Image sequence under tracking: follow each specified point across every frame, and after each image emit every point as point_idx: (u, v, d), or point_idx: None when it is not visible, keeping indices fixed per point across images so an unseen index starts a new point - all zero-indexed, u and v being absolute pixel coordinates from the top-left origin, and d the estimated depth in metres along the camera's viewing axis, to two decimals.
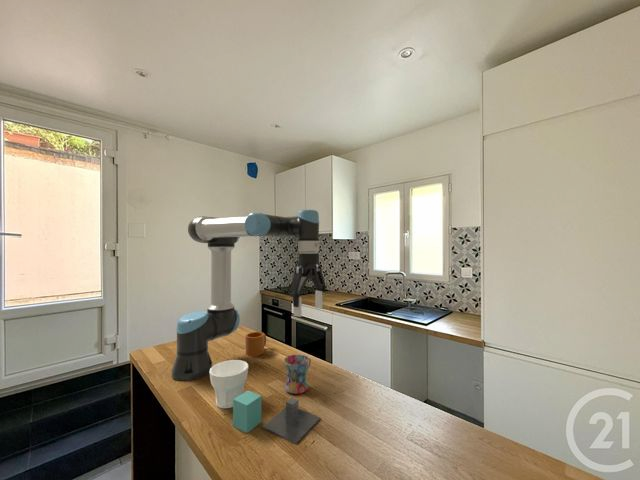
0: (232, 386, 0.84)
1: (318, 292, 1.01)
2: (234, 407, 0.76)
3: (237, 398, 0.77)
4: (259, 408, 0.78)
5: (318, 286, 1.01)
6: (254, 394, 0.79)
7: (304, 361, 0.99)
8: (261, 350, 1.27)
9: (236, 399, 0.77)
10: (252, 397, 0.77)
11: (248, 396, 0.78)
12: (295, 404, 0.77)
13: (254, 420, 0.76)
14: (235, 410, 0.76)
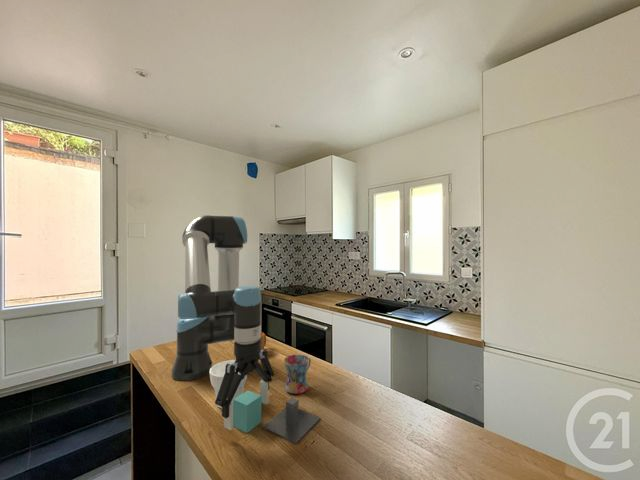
0: None
1: (263, 383, 0.83)
2: (234, 407, 0.76)
3: (237, 398, 0.77)
4: (259, 408, 0.78)
5: (263, 376, 0.82)
6: (254, 394, 0.79)
7: (304, 361, 0.99)
8: None
9: (236, 399, 0.77)
10: (252, 397, 0.77)
11: (248, 396, 0.78)
12: (295, 404, 0.77)
13: (254, 420, 0.76)
14: (235, 410, 0.76)
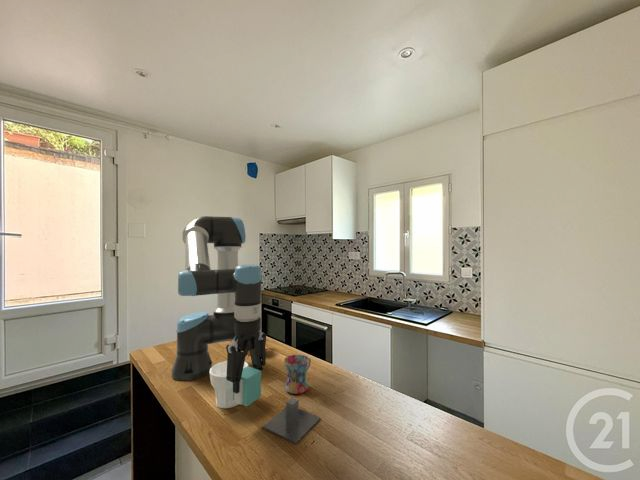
0: (232, 386, 0.84)
1: None
2: None
3: None
4: (259, 383, 0.78)
5: (255, 362, 0.80)
6: (254, 369, 0.80)
7: (304, 361, 0.99)
8: None
9: None
10: (252, 372, 0.78)
11: (248, 371, 0.79)
12: (295, 404, 0.77)
13: (254, 394, 0.77)
14: None
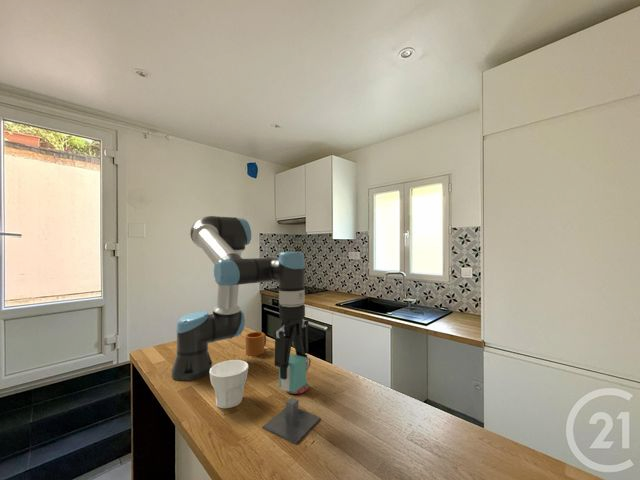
0: (232, 386, 0.84)
1: None
2: None
3: None
4: (304, 369, 0.78)
5: (299, 350, 0.80)
6: (299, 356, 0.79)
7: None
8: (261, 350, 1.27)
9: None
10: (297, 358, 0.78)
11: (293, 358, 0.78)
12: (295, 404, 0.77)
13: (300, 380, 0.76)
14: None
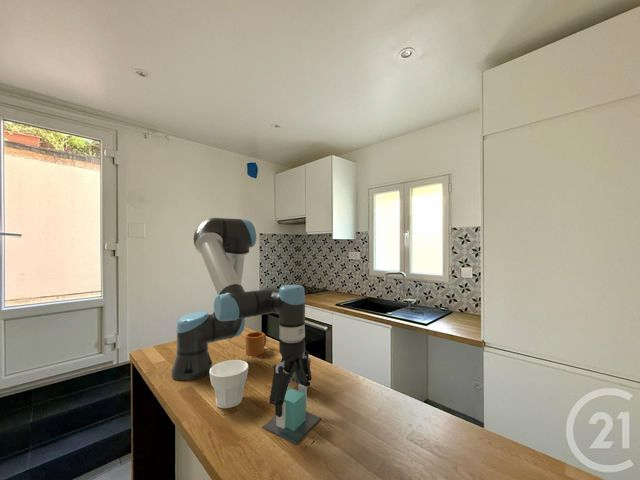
0: (232, 386, 0.84)
1: (301, 388, 0.82)
2: None
3: None
4: (304, 406, 0.78)
5: (302, 379, 0.81)
6: (298, 392, 0.79)
7: None
8: (261, 350, 1.27)
9: None
10: (297, 395, 0.78)
11: (293, 394, 0.78)
12: None
13: (300, 418, 0.76)
14: None
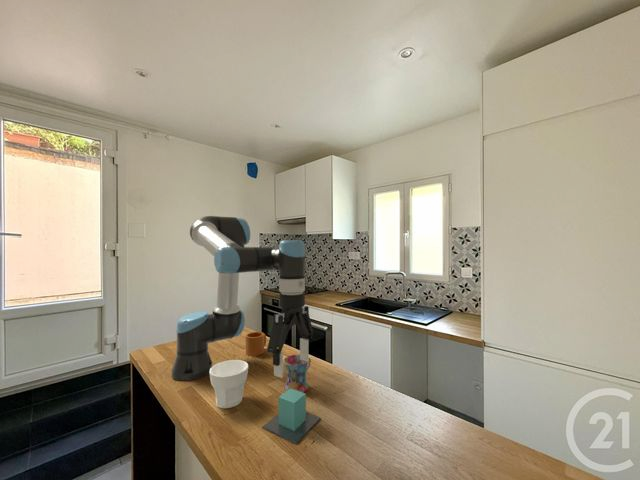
0: (232, 386, 0.84)
1: (303, 340, 0.83)
2: (280, 405, 0.76)
3: (282, 396, 0.77)
4: (304, 406, 0.78)
5: (303, 333, 0.82)
6: (298, 392, 0.79)
7: (304, 361, 0.99)
8: (261, 350, 1.27)
9: (282, 397, 0.77)
10: (297, 395, 0.78)
11: (293, 394, 0.78)
12: None
13: (300, 418, 0.76)
14: (281, 408, 0.76)
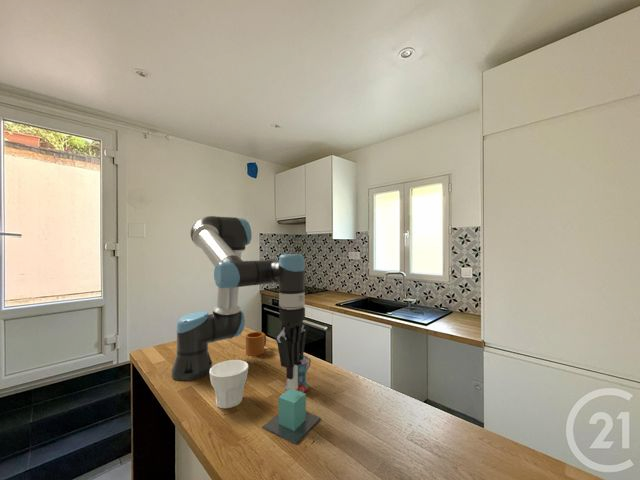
0: (232, 386, 0.84)
1: None
2: (280, 405, 0.76)
3: (282, 396, 0.77)
4: (304, 406, 0.78)
5: (294, 355, 0.78)
6: (298, 392, 0.79)
7: (304, 361, 0.99)
8: (261, 350, 1.27)
9: (282, 397, 0.77)
10: (297, 395, 0.78)
11: (293, 394, 0.78)
12: None
13: (300, 418, 0.76)
14: (281, 408, 0.76)
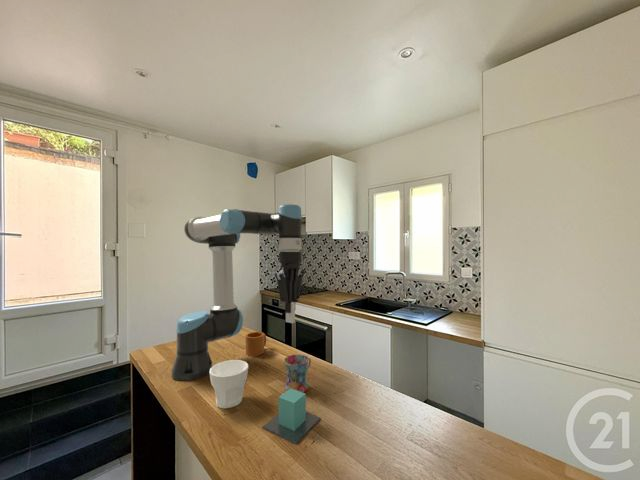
0: (232, 386, 0.84)
1: None
2: (280, 405, 0.76)
3: (282, 396, 0.77)
4: (304, 406, 0.78)
5: (292, 293, 0.89)
6: (298, 392, 0.79)
7: (304, 361, 0.99)
8: (261, 350, 1.27)
9: (282, 397, 0.77)
10: (297, 395, 0.78)
11: (293, 394, 0.78)
12: None
13: (300, 418, 0.76)
14: (281, 408, 0.76)
